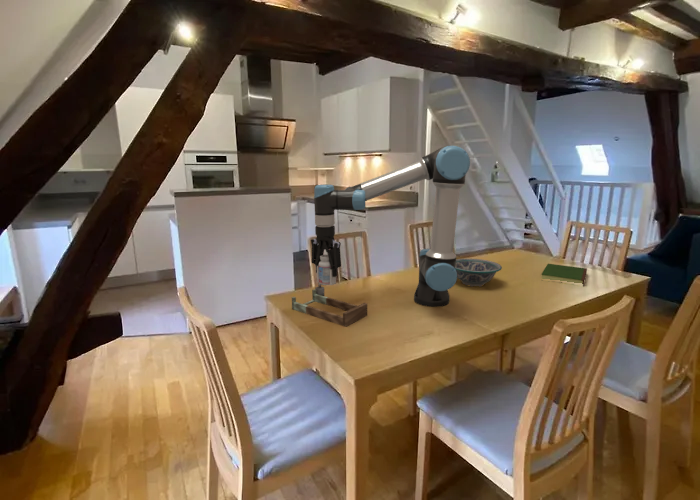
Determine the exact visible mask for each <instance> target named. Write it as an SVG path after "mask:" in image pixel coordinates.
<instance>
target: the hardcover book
mask: <svg viewBox="0 0 700 500" xmlns="http://www.w3.org/2000/svg"><path fill="white" fill-rule="evenodd" d="M587 271H588V268H587V267H586V268H585V267H578V266H569V265H562V264H556V263H547V264H546V266H545V267H544V269H543V270H542V272H541V274H540V276H541V278H542V279H550V280H560V281H567V282H574V283H582V284H585V282H584V280H585V281H586V278H585V277H587Z"/></svg>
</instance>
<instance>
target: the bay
mask: <svg viewBox="0 0 700 500" xmlns="http://www.w3.org/2000/svg"><path fill="white" fill-rule="evenodd" d="M317 285H318V286H316V287H315V288H314V289H312V293H311V294H312V295H311V297H312V300H309V301H307V302H304V303H301V302H299V301H298V302H297V297H296V296H293V297H291V310H293V311H297V312H299V313H302V314H306V315H309V316H312V317H315V318H318V319H322V320H324V321H328V322H331V323H334V324H337V325H340V326H343V327H348V326H350V325H352V324H354V323H356V322H357V321H360V320H362V319H363V318H365V317H367V316H368V303H366V302H363V303H360V304H358V305H356V304H354V303H350V302H346V301H343V300H338V299H335V298H331V297H328V296H325V287H324V286H322V285H321V284H320V283H319V282H317ZM312 303H319V304H322V305H326V306H328V307H332V308H336V309H338V310H342V311H344V312H342V315H340V314H336V313H334V312H330V311H326V310H324V309H323V310H322V309H320V308H317V307H314V306H310V304H312Z"/></svg>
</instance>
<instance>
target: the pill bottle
mask: <svg viewBox="0 0 700 500" xmlns="http://www.w3.org/2000/svg"><path fill="white" fill-rule="evenodd" d="M320 260H321V261H320V262H319V283H320V284H321V286H331V285H330V268H331V265H330V261H329V257H328V254H323V255H321V256H320Z"/></svg>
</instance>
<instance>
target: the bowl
mask: <svg viewBox="0 0 700 500" xmlns="http://www.w3.org/2000/svg"><path fill="white" fill-rule="evenodd" d="M455 269H456V272H457V280H459V281H461V283H462V284H463V285H464V284H465V286H467V285H470V286H469V287H473V286H479V287H483V286H482V285H484V284H486V283H489V282H491V280H492V279H493V278H494V277H495V275H496V274H497V272H499V271H500V272H501V271H502V269H503V267H502V265H501V264H499V263H497V262H495V261H491V260H487V259H482V258H481V259H480V258H458V259H457V258H456V266H455ZM484 286H485V285H484Z"/></svg>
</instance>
